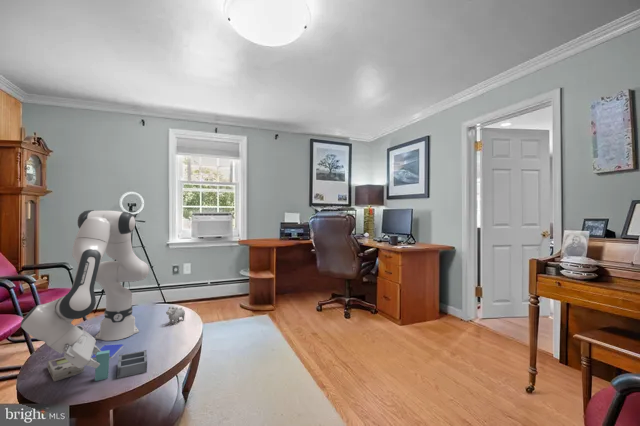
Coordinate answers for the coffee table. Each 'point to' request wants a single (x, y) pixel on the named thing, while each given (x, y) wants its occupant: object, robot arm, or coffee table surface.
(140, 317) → the coffee table surface
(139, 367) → the box
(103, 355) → the teal block
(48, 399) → the coffee table surface
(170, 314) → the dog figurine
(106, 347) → the hard drive
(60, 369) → the handheld gaming console
